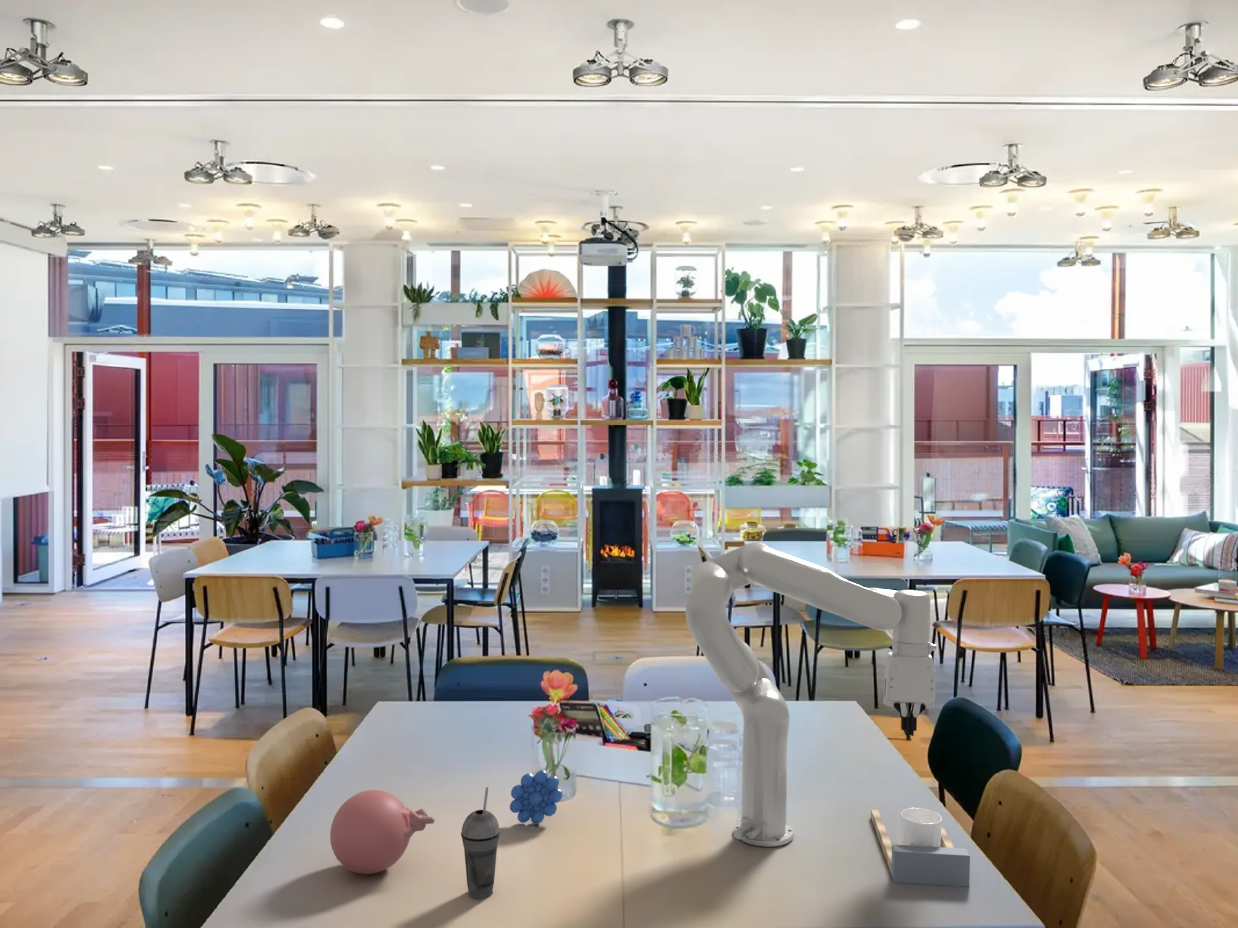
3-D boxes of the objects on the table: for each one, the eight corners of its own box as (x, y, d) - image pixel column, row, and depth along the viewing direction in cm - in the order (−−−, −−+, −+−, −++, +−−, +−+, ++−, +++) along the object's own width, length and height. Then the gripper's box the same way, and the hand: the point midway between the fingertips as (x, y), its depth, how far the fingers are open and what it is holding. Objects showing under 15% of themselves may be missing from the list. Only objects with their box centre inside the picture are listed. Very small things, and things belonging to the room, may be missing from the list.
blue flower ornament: (563, 815, 209) (564, 763, 209) (561, 828, 202) (561, 774, 202) (512, 815, 209) (512, 762, 209) (508, 828, 202) (508, 773, 202)
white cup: (937, 877, 181) (938, 826, 181) (896, 868, 185) (897, 818, 184) (944, 861, 188) (945, 812, 188) (904, 852, 192) (905, 804, 191)
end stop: (969, 886, 178) (969, 855, 177) (894, 881, 179) (894, 851, 179) (965, 878, 180) (966, 848, 180) (891, 874, 182) (891, 844, 182)
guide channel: (965, 878, 180) (965, 868, 180) (891, 874, 182) (891, 864, 182) (935, 821, 207) (935, 812, 207) (870, 817, 209) (871, 808, 209)
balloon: (428, 887, 176) (427, 807, 175) (320, 889, 175) (320, 808, 174) (440, 850, 191) (439, 777, 191) (341, 852, 190) (341, 778, 190)
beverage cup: (462, 884, 177) (462, 780, 177) (501, 882, 178) (501, 779, 177) (459, 903, 170) (459, 795, 169) (499, 902, 171) (499, 794, 170)
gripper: (943, 646, 201) (941, 730, 202) (872, 643, 203) (870, 726, 204) (950, 654, 194) (948, 741, 194) (877, 651, 196) (875, 737, 196)
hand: (908, 733), depth 199 cm, fingers closed
